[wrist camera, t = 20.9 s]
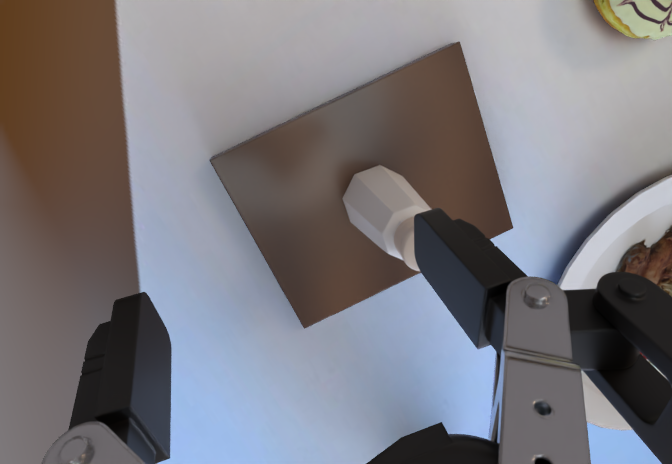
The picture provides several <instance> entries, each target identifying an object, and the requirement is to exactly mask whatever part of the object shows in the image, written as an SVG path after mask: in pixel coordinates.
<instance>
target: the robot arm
mask: <svg viewBox="0 0 672 464" xmlns="http://www.w3.org/2000/svg"><path fill="white" fill-rule="evenodd" d="M414 254H415V259H416V263H417V265H418V268H419V270H420V271H421V273H422V274H423V276H424V277H425V278H426V280H427V281H428V282H429V284H430V285H431V286H432V288H433V289H434V291H435V292H436V293H437V295H438V296H439V297H440V299H441V300H442V301H443V303H444V304H445V305H446V307H447V308H448V310H449V311H450V312H451V314H452V315H453V316H454V318H455V319H456V320H457V322H458V323H459V325H460V326H461V327H462V329H463V330H464V331H465V333H466V334H467V335H468V337H469V338H470V340H471V341H472V342H473V344H474V345H475V346H476V348H477V349H480V348H483V347H486V346H489V345H492V347H493V348H494V349H495V350H496V358H495V370H494V383H493V396H492V409H491V420H490V428H489V436H488V440H487V439H484V438H480V437H477V436H471V435H465V434H448V433H447V431H446V429H445V427H444V426H443V424H442V422H441V423H438V424H435V425H433V426H430V427H428V428H425V429H422V430H420V431H417V432H415V433H412V434H409V435H407V436H404V437H402V438H400V439H399V440H397V441H396V442H395V443H393V444H392V445H391V446H389V447H388V448H387V449H385V450H384V451H383V452H381V453H380V454H379V455H377V456H376V457H375V458H373V459H372V460H371V461H369V462H368V463H366V464H591V460H590V450H589V441H588V431H587V421H586V411H585V401H584V391H583V382H582V373H581V371H583V372H584V373H585V374H586V375H587V376H588V377H589V379H590V380H591V381H592V382H593V383H594V385H595V386H596V387H597V388H598V389H599V390H600V392H601V393H602V394H603V395H604V396H605V397H606V399H607V400H608V401H609V402H610V403H611V404H612V406H613V407H614V408H615V409H616V410H617V411H618V413H619V414H620V415H621V416H622V417H623V418H624V420H625V421H626V422H627V423H628V424H629V425H630V427H631V428H632V429H633V430H634V431H635V432H636V434H637V435H638V436H639V437H640V438H641V439H642V441H643V442H644V443H645V444H646V445H647V446H648V448H649V449H650V450H651V451H652V452H653V453H654V455H655V456H656V457H657V458H658V459H659V460H660V462H661V463H662V464H672V297H671V296H670V295H669V294H668V293H666V292H665V291H664V290H663V289H661V288H660V287H659V286H657V285H656V284H655V283H653V282H652V281H650V280H649V279H647V278H645V277H642V276H640V275H637V274H633V273H629V272H611V273H608V274H605V275H603V276H602V277H601V278H600V279H599V281H598V284H597V287H596V289H578V290H562V289H561V288H560V287H559V286H557V285H556V284H555V283H553V282H551V281H549V280H546V279H543V278H539V277H528V276H527V275H526V274H525V273H524V272H523V271H522V270H520V269H519V268H518V267H517V266H516V265H515V264H514V263H513V262H512V261H511V260H510V259H509V258H508V257H507V256H506V255H505V254H504V253H503V252H502V251H501V250H500V249H499V248H498V247H497V246H496V247H495V246H494V244H493V243H492V242H491V241H490V240H489V239H488V238H486V237H485V235H484V234H483V233H482V232H481V231H480V230H479V229H478V228H477V227H476V226H475V225H472V224H470V223H468V222H466V221H464V220H462V219H456V220H452V219H451V218H450V217H449V216H448V215H447V214H446V213H445V212H444V211H443V210H442V209H441V208H435V209H432V210H428V211H425V212H421V213H418V214H416V215H415V216H414ZM640 352H641V353H642V354H643V355H644V356H645V357H646V358H647V359H648V360H649V361H650V362H651V363H652V364H653V365H654V366H655V367H656V368H657V369H658V370H659V371H660V372H661V373H662V374H663V375H664V376H665V377H666V378H667V379H666V378H665V377H664V376H663V375H662V374H661V373H660V372H659V371H658V370H657V369H656V368H655V367H654V366H653V365H651V364H650V363H649V362H648V361H647V360H646V359H645V358H644V357H643V356H642V355H641V354H640ZM81 372H82V376H80V381H79V386H78V390H77V394H76V399H75V403H74V408H73V412H72V417H71V422H70V426H69V430H68V431H67V432H65V433H64V434H63V435H62V436H60V437H59V439H57V440H56V441H55V442H54V443H53V445H52V446H51V447H50V448H49V450H48V451H47V453H46V454H45V456H44V458H43V461H42V463H41V464H155V463H158V462H161V461H163V460H166V459H169V458H170V418H171V342H170V337H169V334H168V331H167V329H166V327H165V325H164V323H163V321H162V320H161V318H160V316H159V314H158V312H157V310H156V309H155V307H154V305H153V303H152V301H151V300H150V298H149V296H148V295H147V293H145V292H142V293H138V294H135V295H132V296H128V297H124V298H121V299H118V300H116V301H115V302H114V305H113V311H112V317H111V321H109V322H106V323H103V324H100V325H99V326H98V327H97V329H96V330H95V332H94V333H93V335H92V337H91V338H90V339H89V341H88V345H87V349H86V353H85V362H83V367H82V371H81Z"/></svg>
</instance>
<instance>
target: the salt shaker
mask: <svg viewBox="0 0 672 464" xmlns="http://www.w3.org/2000/svg"><path fill="white" fill-rule="evenodd" d="M342 199H343V202H344V205H345V208H346V210H347V213H348V216H349V219H350V222H351V223H352V224H353V225H354V226H356V227H357V228H358V229H359V230H360V231H361V232H363V233H364V234H365V235H366V236H367V237H368V238H370V239H371V240H372V241H373V242H374V243H375V244H377V245H378V246H379V247H380V248H381V249H382V250H384V251H385V252H386V253H388V254H390V255H392V256H394V257H397V258H399V259H401V260H404V262H405V263H406V265H407V266H408V267H410V268H411V269H413V270H416V271H420V270H419V268H418V265H417V263H416V259H415V254H414V216H415V215H416V214H418V213H421V212H425V211H428V210H432V209H431V208H430V207H429V206H428V205H427V204H426V202H425V201H424V200H423V199H422V198H421V197H420V196H419V194H418V193H417V192H416V191H415V190H414V189H413V188H412V186H411V185H410V184H409V183H408V182H407V181H406V180H405V178H404V177H403V176H401V175H399V174H397V173H395V172H393V171H391V170H389V169H387V168H385V167H383V166H381V165H378V166H376V167H373V168H370V169H367V170H365V171H362V172H359V173H357V174H354V176H353V178H352V180H351V182H350V184H349V186H348V188H347V190H346V192H345V194H344V196H343V198H342Z"/></svg>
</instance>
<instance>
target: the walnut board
mask: <svg viewBox="0 0 672 464" xmlns="http://www.w3.org/2000/svg"><path fill="white" fill-rule="evenodd" d="M210 162H211V164H212V166H213V167H214V169H215V171H216V173H217V174H218V176H219V178H220V180H221V182H222V183H223V185H224V187H225V189H226V190H227V192H228V194H229V196H230V198H231V199H232V201H233V203H234V205H235V206H236V208H237V210H238V212H239V214H240V215H241V217H242V219H243V221H244V222H245V224H246V226H247V228H248V229H249V231H250V233H251V235H252V237H253V238H254V240H255V242H256V244H257V245H258V247H259V249H260V251H261V253H262V254H263V256H264V258H265V260H266V261H267V263H268V265H269V267H270V269H271V270H272V272H273V274H274V276H275V277H276V279H277V281H278V283H279V285H280V286H281V288H282V290H283V292H284V293H285V295H286V297H287V299H288V301H289V302H290V304H291V306H292V308H293V309H294V311H295V313H296V315H297V317H298V318H299V320H300V322H301V324H302V325H303V327H304V328H307V327H309V326H311V325H313V324H315V323H317V322H319V321H321V320H324V319H326V318H328V317H330V316H332V315H334V314H336V313H338V312H340V311H342V310H344V309H346V308H348V307H351V306H353V305H355V304H357V303H359V302H361V301H363V300H365V299H367V298H369V297H371V296H373V295H375V294H377V293H380V292H382V291H384V290H386V289H388V288H390V287H392V286H394V285H396V284H398V283H400V282H402V281H404V280H406V279H409V278H411V277H413V276H415V275H417V274H419V273H421V271H416V270H413V269H411V268H410V267H408V266H407V265H406V263H405V262H404V260H401V259H399V258H397V257H394V256H392V255H390V254H388V253H386V252H385V251H384V250H382V249H381V248H380V247H379V246H378V245H377V244H375V243H374V242H373V241H372V240H371V239H370V238H368V237H367V236H366V235H365V234H364V233H363V232H361V231H360V230H359V229H358V228H357V227H356V226H354V225H353V224H352V223H351V222H350V219H349V216H348V213H347V210H346V208H345V205H344V202H343V199H342V198H343V196H344V194H345V192H346V190H347V188H348V186H349V184H350V182H351V180H352V178H353V176H354V174H357V173H359V172H362V171H365V170H367V169H370V168H373V167H376V166H378V165H381V166H383V167H385V168H387V169H389V170H391V171H393V172H395V173H397V174H399V175H401V176H403V177H404V178H405V180H406V181H407V182H408V183H409V184H410V185H411V186H412V188H413V189H414V190H415V191H416V192H417V193H418V194H419V196H420V197H421V198H422V199H423V200H424V201H425V202H426V204H427V205H428V206H429V207H430V208H431V209H435V208H441V209H442V210H443V211H444V212H445V213H446V214H447V215H448V216H449V217H450V218H451V219H452V220H456V219H462V220H464V221H466V222H468V223H470V224H472V225H475V226H476V227H477V228H478V229H479V230H480V231H481V232H482V233H483V234H484V235H485V237H486V238H488V239H491V238H493V237H496V236H498V235H500V234H502V233H504V232H506V231H508V230H510V229H512V228H513V225H512V222H511V218H510V215H509V211H508V208H507V204H506V201H505V197H504V194H503V191H502V187H501V184H500V180H499V177H498V173H497V170H496V166H495V163H494V159H493V156H492V152H491V149H490V145H489V142H488V138H487V135H486V131H485V128H484V124H483V121H482V118H481V114H480V111H479V107H478V104H477V100H476V97H475V93H474V90H473V86H472V83H471V79H470V76H469V72H468V69H467V65H466V62H465V58H464V55H463V51H462V48H461V45H460V42H456V43H451V44H449V45H447V46H445V47H442V48H440V49H438V50H436V51H434V52H432V53H430V54H428V55H426V56H423V57H421V58H419V59H417V60H415V61H413V62H411V63H409V64H407V65H405V66H402V67H400V68H398V69H396V70H394V71H392V72H390V73H388V74H386V75H383V76H381V77H379V78H377V79H375V80H373V81H371V82H369V83H367V84H365V85H362V86H360V87H358V88H356V89H354V90H352V91H350V92H348V93H346V94H343V95H341V96H339V97H337V98H335V99H333V100H331V101H329V102H327V103H325V104H322V105H320V106H318V107H316V108H314V109H312V110H310V111H308V112H306V113H303V114H301V115H299V116H297V117H295V118H293V119H291V120H289V121H287V122H285V123H282V124H280V125H278V126H276V127H274V128H272V129H270V130H268V131H266V132H264V133H261V134H259V135H257V136H255V137H253V138H251V139H249V140H247V141H245V142H242V143H240V144H238V145H236V146H234V147H232V148H230V149H228V150H226V151H224V152H221V153H219V154H217V155H215V156H213V157H212V158H211V160H210Z"/></svg>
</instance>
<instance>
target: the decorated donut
mask: <svg viewBox="0 0 672 464" xmlns="http://www.w3.org/2000/svg"><path fill="white" fill-rule="evenodd" d="M593 1H594V3H595V5H596V7H597V9H598V11H599V13H600V14H601V15H602V17H603V18H604V20H605V21H606V22H607V23H608V24H609V25H610V26H611V27H612V28H614V29H616V30H617V31H620V32H621V33H623V34H624V35H626V36H628V37H632V38H644V39H647V38H650V39H653V40H658V39H660V38H663V37H667V36H672V0H593Z"/></svg>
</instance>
